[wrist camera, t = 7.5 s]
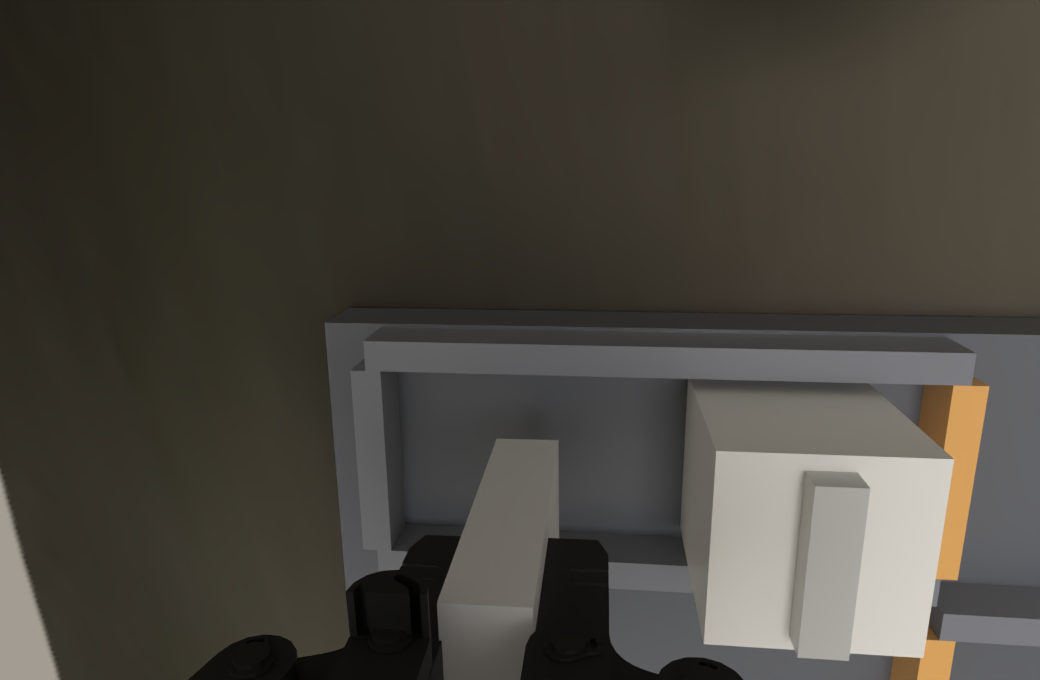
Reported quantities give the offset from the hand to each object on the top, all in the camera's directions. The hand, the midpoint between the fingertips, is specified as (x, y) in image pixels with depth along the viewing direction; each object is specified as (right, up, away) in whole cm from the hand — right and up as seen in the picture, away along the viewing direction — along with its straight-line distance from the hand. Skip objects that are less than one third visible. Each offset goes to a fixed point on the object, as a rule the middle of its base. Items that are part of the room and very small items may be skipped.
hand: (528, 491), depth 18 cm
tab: (+6, +1, +2) cm, 7 cm away
